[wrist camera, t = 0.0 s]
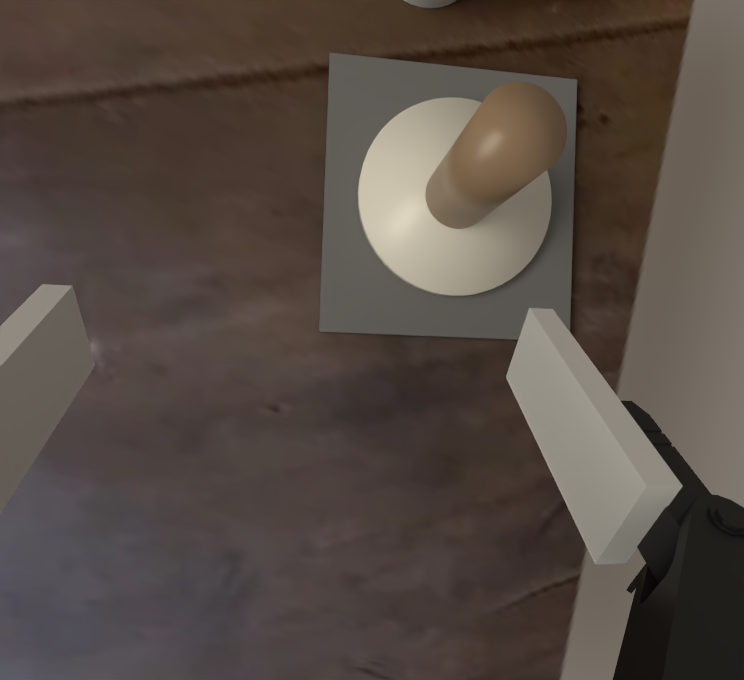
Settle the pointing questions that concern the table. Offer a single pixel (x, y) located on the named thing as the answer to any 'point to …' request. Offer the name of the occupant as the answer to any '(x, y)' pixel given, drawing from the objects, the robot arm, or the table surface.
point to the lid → (462, 188)
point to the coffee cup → (430, 3)
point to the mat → (350, 246)
